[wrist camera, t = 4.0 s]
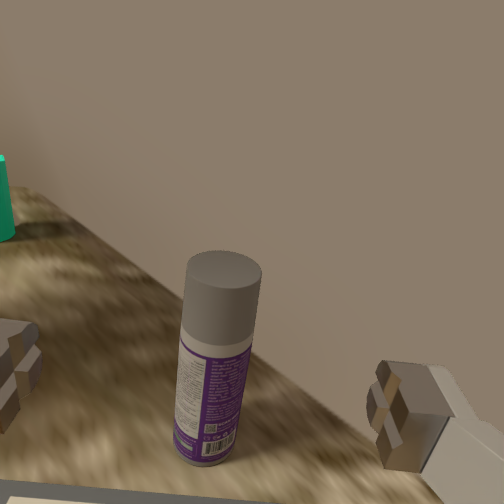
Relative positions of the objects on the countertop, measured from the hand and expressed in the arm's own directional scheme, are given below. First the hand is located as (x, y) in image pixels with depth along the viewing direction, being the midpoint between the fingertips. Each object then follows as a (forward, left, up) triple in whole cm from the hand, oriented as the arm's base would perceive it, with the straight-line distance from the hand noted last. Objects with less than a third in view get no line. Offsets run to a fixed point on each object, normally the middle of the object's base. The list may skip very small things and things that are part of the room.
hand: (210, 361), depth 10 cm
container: (0, +13, -20) cm, 24 cm away
